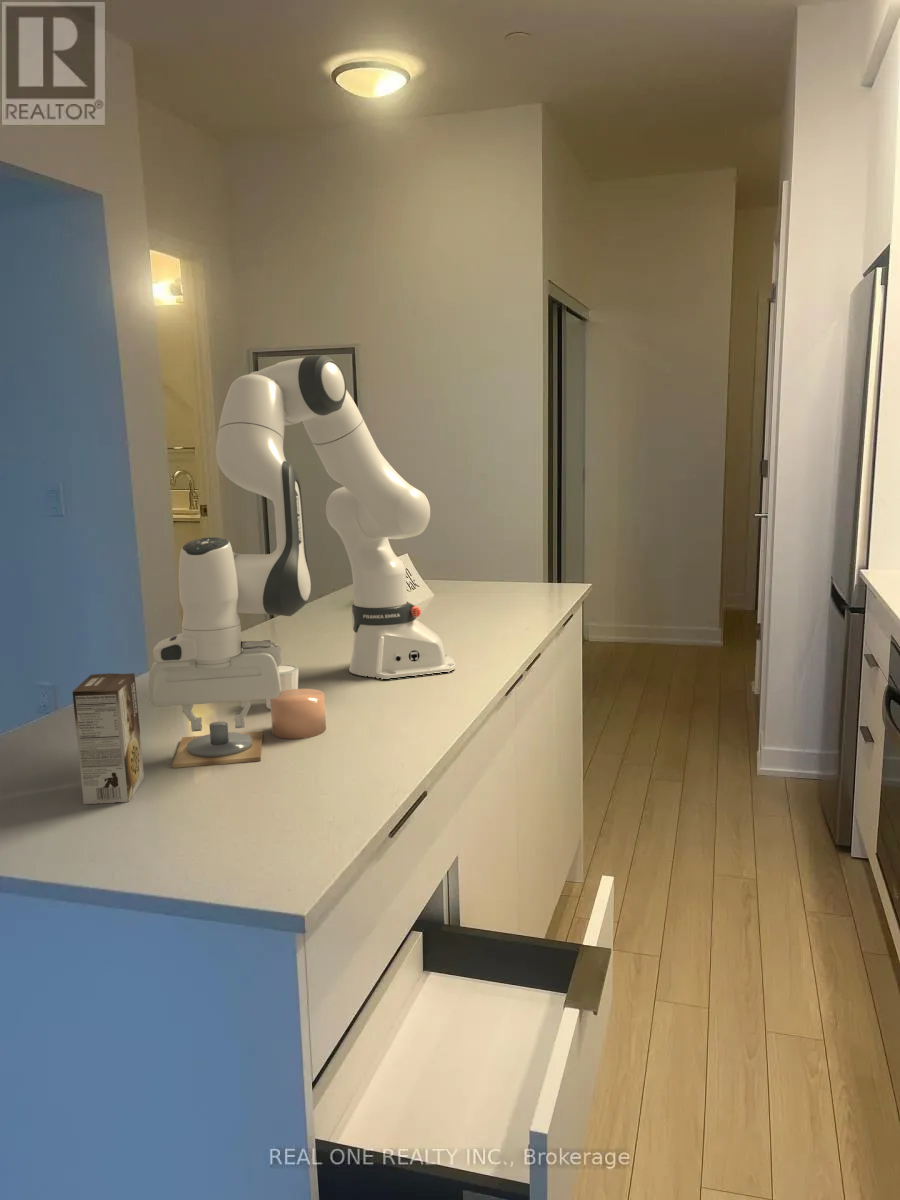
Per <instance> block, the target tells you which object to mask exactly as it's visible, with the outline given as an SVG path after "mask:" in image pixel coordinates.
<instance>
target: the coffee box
mask: <svg viewBox="0 0 900 1200" xmlns="http://www.w3.org/2000/svg"><path fill="white" fill-rule="evenodd" d="M71 694H72V703H73V711H74V720H75V731H76V741H77V752H78V753H77V754H78V762H79V772H80V773H79V774H80V784H81V792H82V802H83V805H95V804H98V803H99V804H115V802H121V803H130V800H132V798H133V796H134V794H135V793H136V791H137V790H138V789H139V787H140V785H141V784H142V782H143V781H144V779H145V773H144V771H145V770H144V761H143V760H144V759H143V750H142V741H141V728H140V718H139V708H138V707H139V706H138V697H137V695H138V694H137V685H136V676H135V672H133V673H132V672H131V673H94V674H90V675H89V676H87V678H86V679H84V680H83V681H82V682H81V683H80V684H79V685H78V686H77V687H76V688H75V689H73V690H72V691H71Z"/></svg>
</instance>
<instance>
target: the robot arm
mask: <svg viewBox="0 0 900 1200" xmlns="http://www.w3.org/2000/svg"><path fill="white" fill-rule="evenodd" d="M346 381H347V380H346V378H345V375H344V372H343V371H342V368H341V367H340V365H338V363H337V362H335V360H334V359H332V358H330V357H329V356H327V355H320V354H312V355H306V356H305V357H302V358H295V359H294V358H293V359H288V360H283V361H280V362H277V363H276V364H273V365H270V366H267V367H264V368H262V369H260V370H258V371H257V370H256V371H255V370H254V371H251V372H249V373H247V374H245V375H241V376H239V377H237V378H236V379H235V380H234V381H232V383H231V384H230V386H229V389H228V392H227V394H226V396H225V400H224V402H223V403H224V404H223V406H222V410H221V415H220V419H219V424H218V429H217V437H216V444H215V445H216V447H215V455H216V456H215V457H216V462H217V465H218V467H219V469H220V471H221V472H222V473H223V475H224V476H225V477H226V478H227V479H228V480H230V481H231V482H232V483H234V485H237V486H238V487H240V488H242V489H244V490H246V491H249V492H251V493H254V494H257V495H260V496H262V497H264V498H266V499H269V500H270V501H271V502H272V503H273V507H274V508H273V509H274V522H275V534H276V535H275V537H276V549H275V550H273V551H272V552H271V553H268V554H267V553H260V554H259V553H258V554H257V553H250V554H246V553H245V554H243V553H236V552H234V551H233V547H232V545H231V542H230V540H228V539H227V538H226V539H225V538H222V537H217V536H215V537H214V536H210V537H201V538H197V539H193V540H190V541H189V542H186V543H185V544H184V545H182V547H181V549H180V551H179V552H180V553H179V559H178V560H179V561H178V594H179V595H178V596H179V601H180V604H181V607H182V611H183V614H182V615H183V616H182V621H181V632H180V633H179V634H175V635H173V636H170V637H167V638H164V639H162V640H159V641H158V643H156V644H155V646H154V647H153V651H152V656H153V660H154V662H153V664H152V666H151V667H150V670H149V673H148V679H147V680H148V682H147V696H148V702H149V703H150V705H152V706H153V707H155V708H159V707H160V708H161V707H173V706H176V707H177V706H181V709H182V713H183V715H184V716H185V717H186V718H187V720H188V721H189V722H190V729H191V732H201V731H202V730H203V724H202V722H203V721H202V720H203V719H202V717H197V716H195V714H194V712H193V708H194V705H201V704H203V705H204V704H215V703H217V704H219V703H220V704H221V703H231V702H240V707H241V708H243V709H242V710H241V712H240V714H235V716H234V728H235V729H245V727H246V719H245V718H246V716H247V714H248V712H249V710H250V709H251V706H252V701H259V700H266V699H275V698H277V697H278V696H279V695H280V693H281V681H280V674H279V669H278V666H279V665H281V663H282V650H281V647H280V646H279V645H278V644H277V643H275V642H272V641H271V640H270V639H264V640H260V641H259V640H247V641H245V640H244V641H243V640H242V630H241V629H242V628H241V619H240V616H239V614H268V615H272V616H274V615H275V616H282V617H283V616H284V617H291V616H293V615H295V614H296V613H298V611H300V610H301V609H302V608H303V607H304V606H305V605H306V604H307V603H308V602H309V600H310V597H311V589H312V588H311V587H312V586H311V585H312V583H311V582H312V581H311V575H310V567H309V563H308V557H307V547H306V533H305V532H306V531H305V520H304V519H305V518H304V506H303V497H302V487H301V482H300V477H299V475H298V474H299V473H298V472H297V470H296V468H295V466H294V465H293V464H292V463H290V462H288V461H287V460H286V456H285V453H284V438H285V427H286V426H291V425H295V424H296V425H297V424H299V423H301V422H302V424H303V426H304V428H305V431H306V434H307V436H308V437H309V439H310V442H311V443H312V446H313V448H314V449H315V451H316V453H317V455H318V457H319V459H320V461H321V463H322V465H323V467H324V469H325V471H326V473H327V474H328V475H329V476H328V477H330V478H332V480H334V482H336V483H338V484H340V485H341V487H338V488H337V489H335V490H333V491H332V492H331V493H330V494H329V496H328V498H327V500H326V505H325V515H326V516H325V517H326V519H327V522H328V524H329V525H330V526H331V528H332V529H334V531H335V532H336V533H337V534H338V536H339V538H340V539H341V542H342V544H343V545H344V548H345V551H346V553H347V556H348V561H349V563H350V567H351V575H352V576H351V577H352V588H353V604H352V605H351V607H352V609H351V621H352V622H351V624H352V627H351V628H352V630H353V646H352V654H351V661H350V665H349V668H348V670H349V672H350V673H351V674H354V675H357V676H362V677H367V676H368V677H369V678H375V677H376V678H375V679H379V678H381V679H380V680H383V679H389V678H396V677H404V676H413V675H420V674H427V673H434V672H441V671H449V670H452V669H454V668H455V665H456V662H455V660H454V658H452V657H451V656H449V655H447V654H446V651H445V647H444V643H443V641H442V638H440V636H439V635H438V634H437V633H436V632H434V631H433V630H431V628H429V627H428V626H426V625H425V624H423V623H422V622H421V621H419V620H418V619H417V618H418V617H421V616H420V615H422V609H420V607H419V606H416V605H415V604H412V603H411V602H409V601H408V600H407V571H406V567H405V564H404V562H403V561H402V560H401V559H400V558H399V557H398V556H397V555H396V553H395V552H394V550H393V548H392V547H391V546H392V545H391V544H390V541H389V539H390V540H402V539H403V540H404V539H408V538H413V537H417V536H420V535H421V534H422V533H423V532H424V531H425V530H426V528H427V527H428V526H429V525H428V524H429V522H430V520H431V505H430V502H429V500H428V498H427V496H426V494H425V493H424V492H422V491H421V490H419V489H418V488H416V487H415V486H413V485H412V484H410V483H409V482H407V481H406V480H405V479H404V478H403V477H402V476H401V475H400V474H399V473H398V472H397V471H396V470H395V469H394V467H393V466H392V465H391V464H390V463H389V462H388V461H387V459H386V458H385V457H384V456H383V454H382V453H381V451H380V449H379V448H378V446H377V444H376V442H375V440H374V438H373V437H372V434H371V432H370V430H369V428H368V426H367V424H366V422H365V420H364V418H363V416H362V413H361V412H360V410H359V407H358V406H357V404H356V403H355V401H354V399H353V397H352V396H351V394H350V393H349V391H348V390H347V382H346ZM238 613H239V614H238ZM455 669H456V668H455Z"/></svg>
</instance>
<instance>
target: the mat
mask: <svg viewBox="0 0 900 1200" xmlns="http://www.w3.org/2000/svg"><path fill="white" fill-rule="evenodd" d="M242 733H243V734H247V735H249V736H250V737H251V738H252V746H251V747H250V748H249V749H248V750H246V751H244V752H241V753H238V754H235V755H231V756H225V757H214V758H206V757H197V756H193V755H191V754H189V753H188V751H187V744H188V743H189V742H190V741H191V740H193V739H195V738H198V737H201V736H202V735H196V736H183V737H181V740H180V742H179V745H178V748H177V750H176V753H175V755H174V758H173V761H172V768H187V767H201V766H212V765H223V764H225V765H226V764H227V765H228V764H237V763H250V762H251V763H252V762H261V759H262V751H263V750H262V748H263V736H264V734H263V733H264V732H263V730H262V731H261V730H260V731H250V732H242Z"/></svg>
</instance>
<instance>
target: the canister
mask: <svg viewBox="0 0 900 1200" xmlns="http://www.w3.org/2000/svg"><path fill="white" fill-rule="evenodd" d="M325 699H326V698H325V693H324V692H323V691H321V690H319V689H314V688H298V689H291V690H285V691H281V693H280V695H279V696H278V697H277V698H275V699H270V705H271V709H270V718H271V719H270V720H271V733H272V735H273V736H275V737H277V738H281V739H289V740H290V739H291V740H296V739H298V740H299V739H306V738H307V739H308V738H311V737H315V736H319V735H321V734H323V733H324V732H325V731H326V730H327V725H326V724H327V722H326V718H327V717H326V704H325V703H326V701H325Z"/></svg>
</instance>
